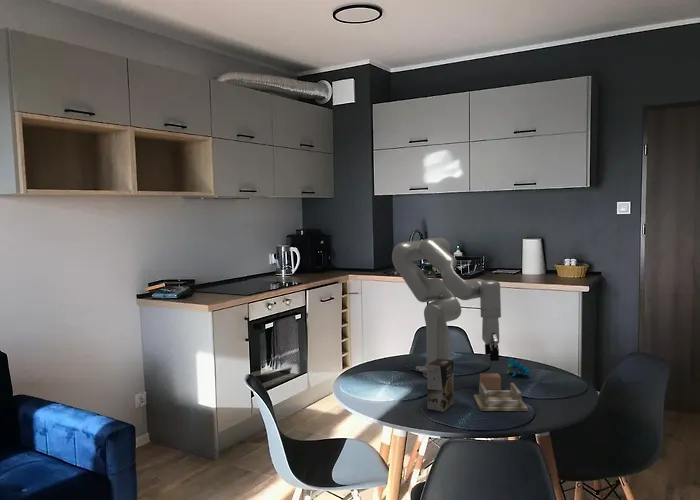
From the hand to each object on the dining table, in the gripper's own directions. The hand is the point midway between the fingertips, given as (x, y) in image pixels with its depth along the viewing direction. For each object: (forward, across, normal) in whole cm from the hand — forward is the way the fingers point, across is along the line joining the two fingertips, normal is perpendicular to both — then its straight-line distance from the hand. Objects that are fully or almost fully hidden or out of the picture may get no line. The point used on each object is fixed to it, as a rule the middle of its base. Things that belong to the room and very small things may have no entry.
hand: (491, 357), depth 217 cm
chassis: (+13, +16, -1) cm, 21 cm away
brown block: (+13, -1, -1) cm, 13 cm away
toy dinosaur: (+13, -18, +14) cm, 26 cm away
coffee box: (+13, +18, -22) cm, 31 cm away
